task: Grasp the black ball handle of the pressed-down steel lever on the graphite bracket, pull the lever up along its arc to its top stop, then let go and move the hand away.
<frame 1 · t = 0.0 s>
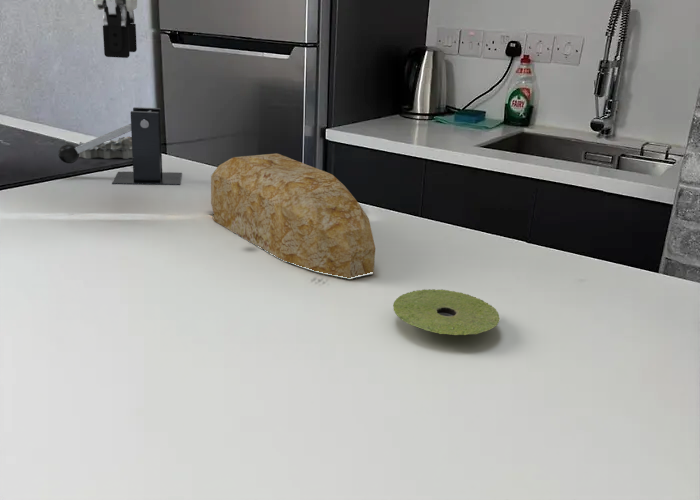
hand: (121, 54, 97), 23 cm above the countertop, tool pointing down, fingers open, 9 cm apart
lever: (107, 137, 114), point 8 cm above the countertop, hinge at -25.0°
egg carton: (108, 160, 133), on the countertop
green disc with hole: (443, 327, 73), on the countertop
bracket: (148, 184, 118), on the countertop
bread: (282, 236, 97), on the countertop
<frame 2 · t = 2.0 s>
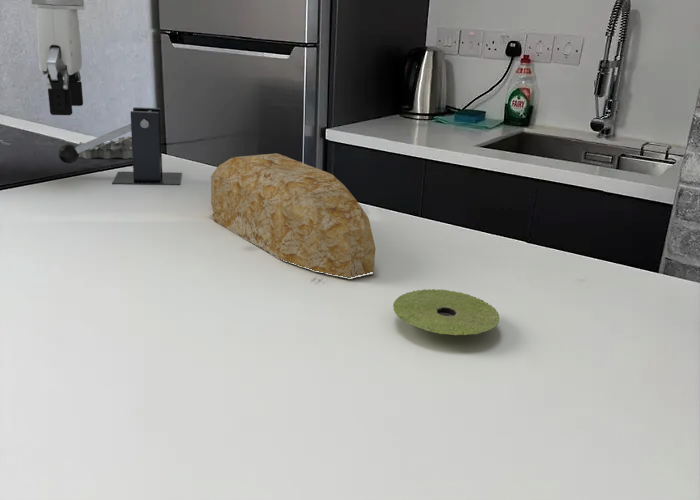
hand: (67, 109, 111), 12 cm above the countertop, tool pointing down, fingers open, 9 cm apart
nothing on the countertop moved.
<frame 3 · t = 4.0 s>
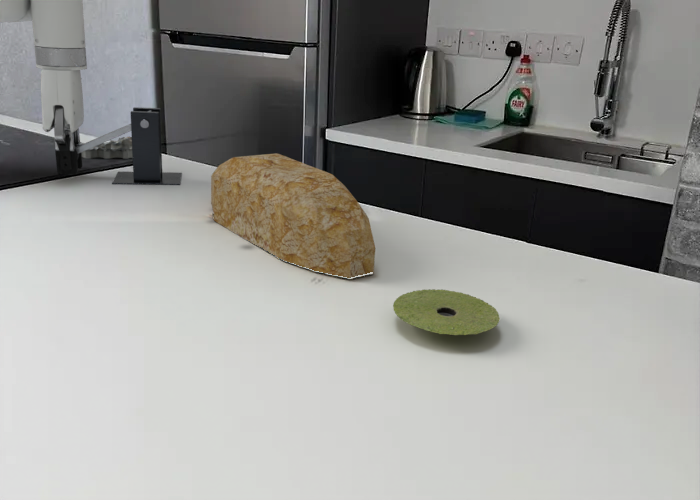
hand: (70, 170, 115), 2 cm above the countertop, tool pointing down, fingers closed on lever, 3 cm apart
lever: (107, 137, 114), point 8 cm above the countertop, hinge at -25.0°, touching gripper
everything else where it was.
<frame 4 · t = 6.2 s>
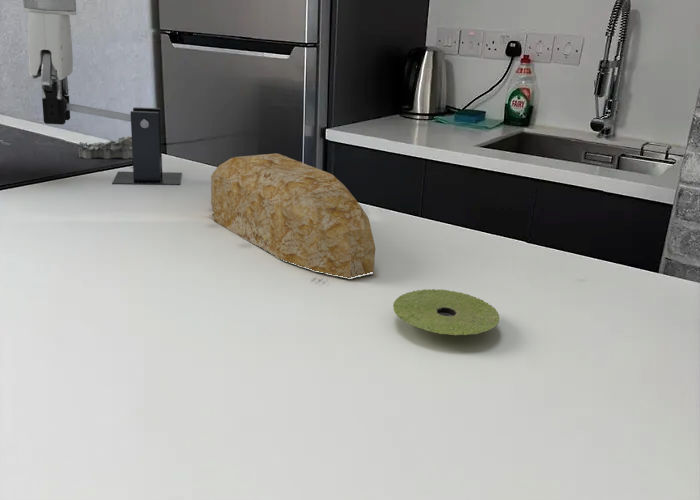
hand: (57, 120, 112), 11 cm above the countertop, tool pointing down, fingers closed on lever, 3 cm apart
lever: (101, 112, 113), point 12 cm above the countertop, hinge at 8.9°, touching gripper
everything else where it was.
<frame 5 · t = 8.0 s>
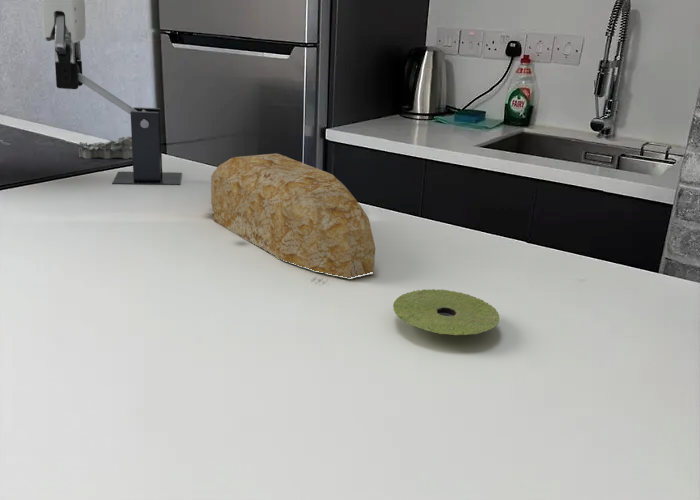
hand: (69, 85, 110), 16 cm above the countertop, tool pointing down, fingers closed on lever, 3 cm apart
lever: (107, 95, 112), point 15 cm above the countertop, hinge at 33.7°, touching gripper
everything else where it was.
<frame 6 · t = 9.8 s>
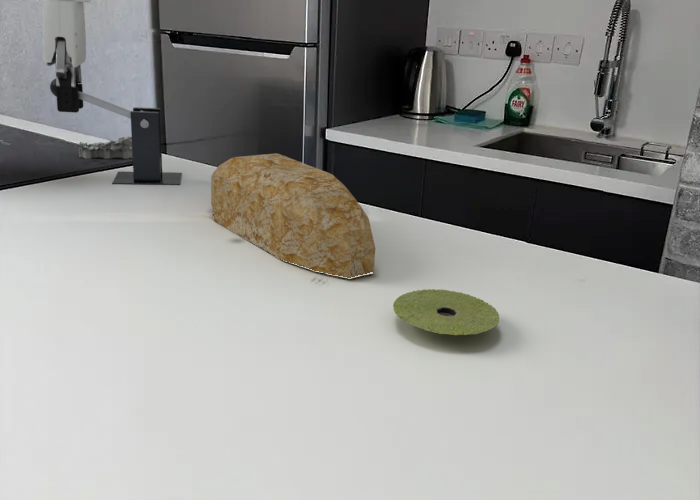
hand: (70, 108, 112), 13 cm above the countertop, tool pointing down, fingers closed on lever, 3 cm apart
lever: (103, 104, 112), point 13 cm above the countertop, hinge at 20.5°, touching gripper
everything else where it was.
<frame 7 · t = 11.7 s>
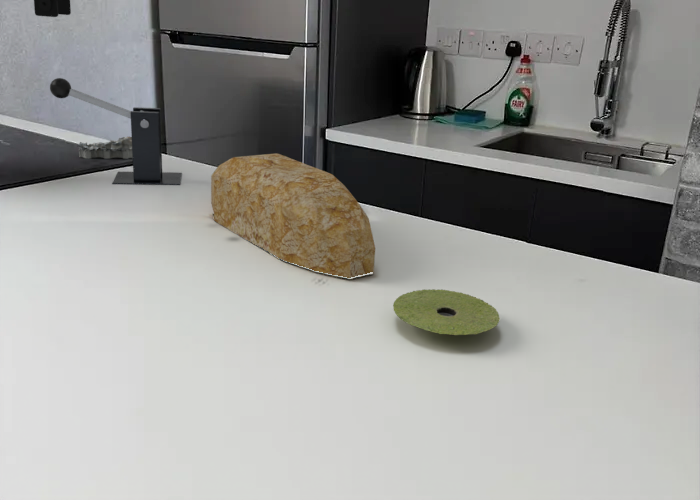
hand: (53, 15, 107), 27 cm above the countertop, tool pointing down, fingers open, 9 cm apart
lever: (103, 104, 112), point 13 cm above the countertop, hinge at 20.2°
everything else where it was.
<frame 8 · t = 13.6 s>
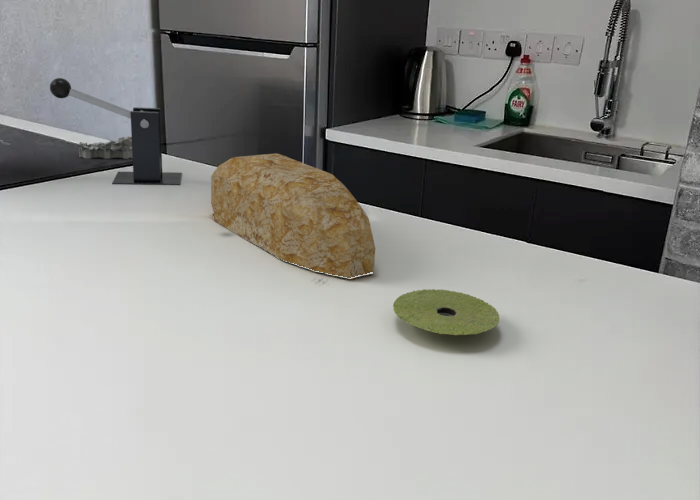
nothing on the countertop moved.
at the end: lever at +20° (first picture: -25°); lever reached +34° during the clip, +20° at the end; the gripper is holding nothing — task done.
